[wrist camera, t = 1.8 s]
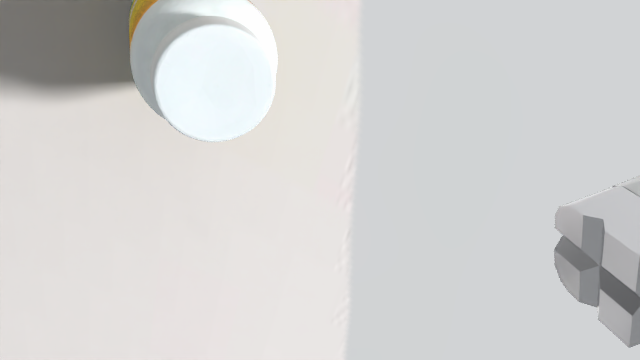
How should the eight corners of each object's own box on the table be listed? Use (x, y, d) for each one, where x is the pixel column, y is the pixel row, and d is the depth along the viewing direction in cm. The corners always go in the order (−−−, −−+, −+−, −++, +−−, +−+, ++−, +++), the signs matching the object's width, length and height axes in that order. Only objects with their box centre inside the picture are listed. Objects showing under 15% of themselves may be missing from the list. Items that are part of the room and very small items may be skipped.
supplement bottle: (252, -29, 27) (310, 13, 19) (238, 82, 29) (285, 164, 21) (129, -48, 25) (135, -10, 17) (125, 73, 27) (127, 158, 19)
